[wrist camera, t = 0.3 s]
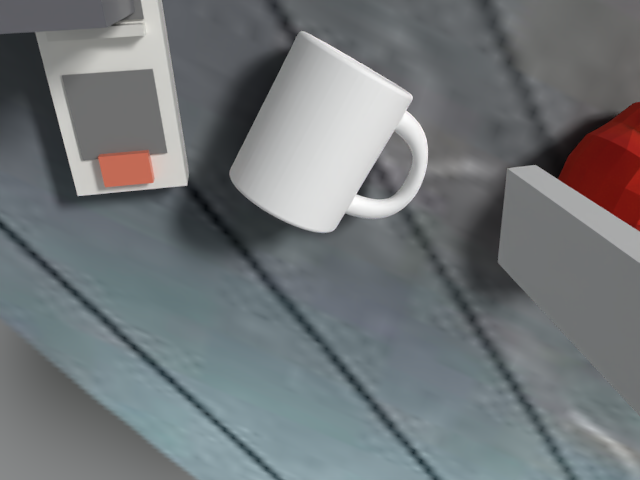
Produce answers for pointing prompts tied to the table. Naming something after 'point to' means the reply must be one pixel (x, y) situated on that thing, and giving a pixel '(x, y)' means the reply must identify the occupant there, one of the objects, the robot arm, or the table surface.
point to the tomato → (609, 166)
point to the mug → (326, 140)
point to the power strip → (117, 103)
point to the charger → (61, 14)
